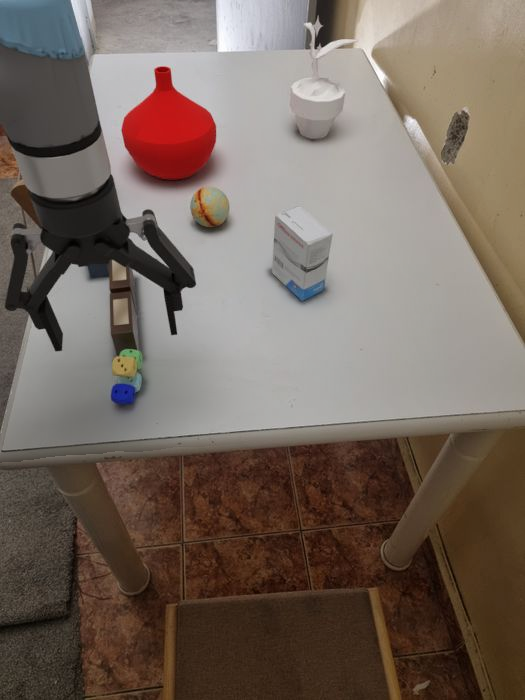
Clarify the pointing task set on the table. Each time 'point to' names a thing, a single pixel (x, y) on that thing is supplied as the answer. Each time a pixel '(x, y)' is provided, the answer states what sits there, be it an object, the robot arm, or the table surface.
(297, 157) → the table surface
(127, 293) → the brown paneled block
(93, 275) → the blue block
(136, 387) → the dice
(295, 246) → the ink box
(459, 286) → the table surface
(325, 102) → the potted plant
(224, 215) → the ball
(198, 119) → the vase
